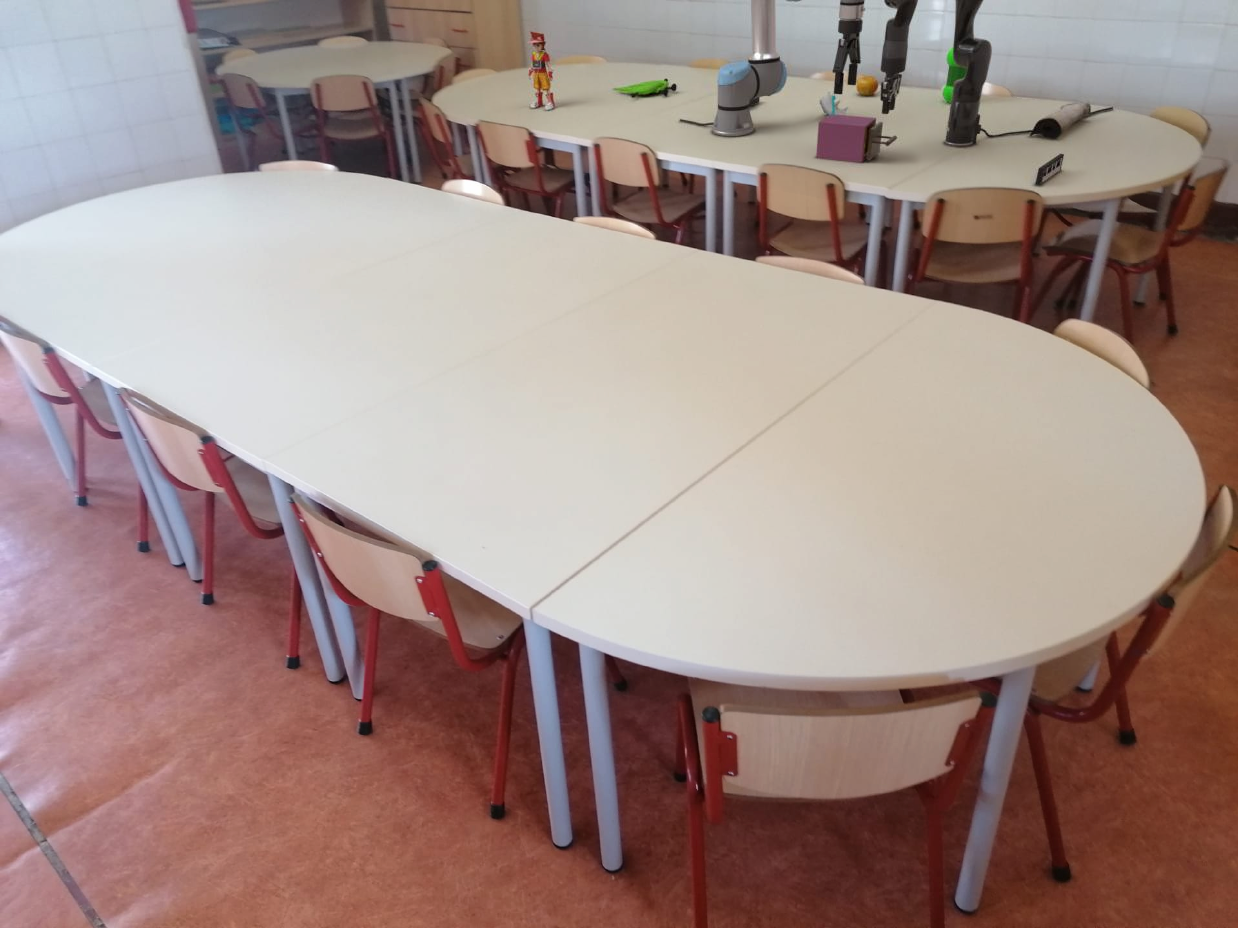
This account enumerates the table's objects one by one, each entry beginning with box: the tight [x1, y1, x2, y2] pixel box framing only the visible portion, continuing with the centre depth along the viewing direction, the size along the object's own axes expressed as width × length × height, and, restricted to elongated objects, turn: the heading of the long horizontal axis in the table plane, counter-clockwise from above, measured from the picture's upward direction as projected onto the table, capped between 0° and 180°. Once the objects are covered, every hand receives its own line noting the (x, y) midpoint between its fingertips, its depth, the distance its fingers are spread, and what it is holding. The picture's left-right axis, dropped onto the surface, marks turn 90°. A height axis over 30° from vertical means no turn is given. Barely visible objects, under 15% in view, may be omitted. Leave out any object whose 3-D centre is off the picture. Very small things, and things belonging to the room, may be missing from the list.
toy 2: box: [612, 78, 677, 99], centre depth 396 cm, size 28×5×30 cm
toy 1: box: [527, 31, 556, 111], centre depth 374 cm, size 12×9×30 cm
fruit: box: [856, 75, 879, 96], centre depth 370 cm, size 8×8×8 cm
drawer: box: [863, 121, 898, 161], centre depth 298 cm, size 20×10×10 cm, turn 58°
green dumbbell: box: [942, 46, 967, 104], centre depth 348 cm, size 10×10×25 cm
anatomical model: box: [819, 91, 850, 116], centre depth 341 cm, size 15×10×10 cm
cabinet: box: [815, 114, 877, 164], centre depth 301 cm, size 16×11×12 cm
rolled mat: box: [1029, 101, 1092, 140], centre depth 316 cm, size 30×9×10 cm
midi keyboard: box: [1035, 153, 1065, 186], centre depth 273 cm, size 18×1×5 cm, turn 138°
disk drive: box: [749, 97, 761, 108], centre depth 367 cm, size 10×3×15 cm
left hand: (844, 89), depth 298 cm, fingers open, 13 cm apart
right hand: (887, 111), depth 290 cm, fingers open, 5 cm apart
